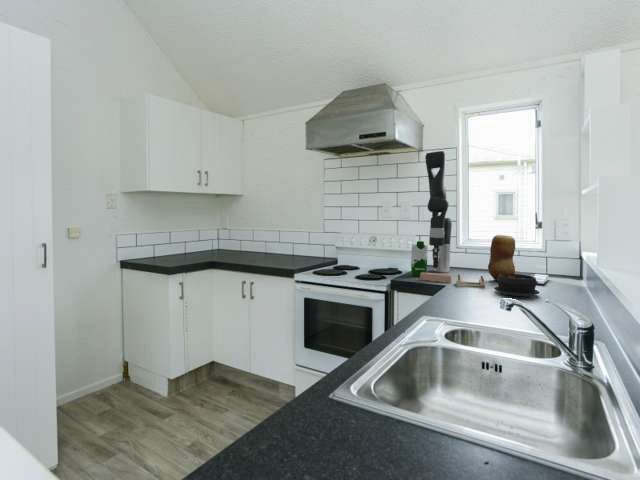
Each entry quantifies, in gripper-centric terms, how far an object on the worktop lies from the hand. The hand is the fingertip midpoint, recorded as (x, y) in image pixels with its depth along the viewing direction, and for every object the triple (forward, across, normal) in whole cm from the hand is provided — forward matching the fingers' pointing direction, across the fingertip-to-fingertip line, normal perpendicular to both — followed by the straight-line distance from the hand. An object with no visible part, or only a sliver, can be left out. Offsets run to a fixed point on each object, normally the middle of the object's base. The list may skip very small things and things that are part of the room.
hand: (435, 266), depth 212 cm
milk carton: (+8, -14, -10) cm, 19 cm away
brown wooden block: (+8, 0, 0) cm, 8 cm away
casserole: (+8, +21, +36) cm, 43 cm away
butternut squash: (+8, -13, +33) cm, 36 cm away
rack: (+8, +6, +17) cm, 20 cm away
